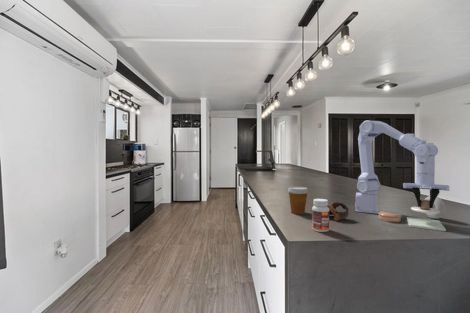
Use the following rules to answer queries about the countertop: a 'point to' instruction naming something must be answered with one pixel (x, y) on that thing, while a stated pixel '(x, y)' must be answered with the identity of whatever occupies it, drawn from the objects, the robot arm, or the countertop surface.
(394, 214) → the orange round disc
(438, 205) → the white tape roll
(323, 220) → the pill bottle
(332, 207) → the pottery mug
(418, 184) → the robot arm
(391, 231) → the countertop surface
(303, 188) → the disposable coffee cup
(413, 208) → the lid
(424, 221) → the mat
